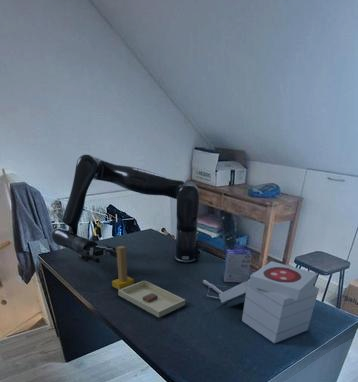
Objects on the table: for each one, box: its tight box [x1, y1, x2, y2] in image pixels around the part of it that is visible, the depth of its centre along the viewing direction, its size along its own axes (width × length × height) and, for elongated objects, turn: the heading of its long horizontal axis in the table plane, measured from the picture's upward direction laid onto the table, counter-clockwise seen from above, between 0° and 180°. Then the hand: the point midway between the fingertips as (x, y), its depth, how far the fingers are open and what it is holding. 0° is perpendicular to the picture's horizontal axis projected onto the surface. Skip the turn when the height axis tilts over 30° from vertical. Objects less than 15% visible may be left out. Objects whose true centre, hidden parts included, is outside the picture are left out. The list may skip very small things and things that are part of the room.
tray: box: [117, 280, 186, 318], centre depth 120 cm, size 22×13×3 cm, turn 46°
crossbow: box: [202, 279, 232, 299], centre depth 129 cm, size 16×13×2 cm
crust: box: [143, 293, 158, 303], centre depth 120 cm, size 3×4×1 cm, turn 136°
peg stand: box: [111, 245, 135, 291], centre depth 125 cm, size 4×7×16 cm, turn 136°
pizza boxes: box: [218, 260, 320, 344], centre depth 108 cm, size 19×30×18 cm, turn 32°
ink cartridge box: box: [223, 244, 253, 284], centre depth 135 cm, size 10×6×14 cm, turn 89°
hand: (108, 257), depth 130 cm, fingers open, 8 cm apart
